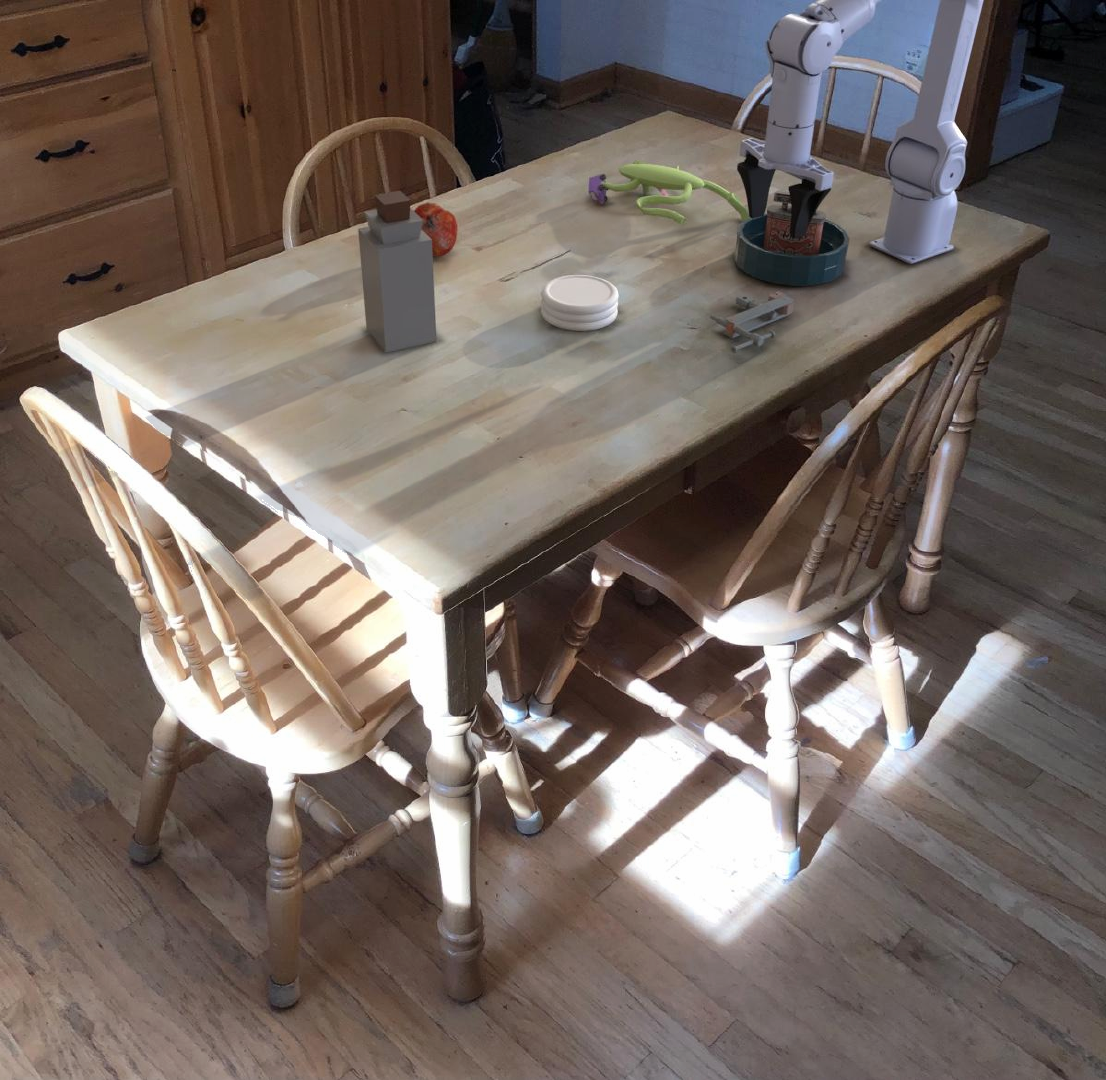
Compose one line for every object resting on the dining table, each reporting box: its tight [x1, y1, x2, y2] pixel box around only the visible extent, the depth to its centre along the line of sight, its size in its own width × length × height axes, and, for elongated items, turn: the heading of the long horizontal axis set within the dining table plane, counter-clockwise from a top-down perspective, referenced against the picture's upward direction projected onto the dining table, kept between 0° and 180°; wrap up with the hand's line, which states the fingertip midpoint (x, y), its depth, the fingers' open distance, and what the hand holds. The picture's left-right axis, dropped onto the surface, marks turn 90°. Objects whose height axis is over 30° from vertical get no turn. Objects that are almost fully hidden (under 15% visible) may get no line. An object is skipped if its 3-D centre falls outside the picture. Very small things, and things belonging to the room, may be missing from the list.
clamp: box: [709, 291, 795, 354], centre depth 156 cm, size 15×2×10 cm
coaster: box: [540, 274, 620, 332], centre depth 158 cm, size 10×10×4 cm
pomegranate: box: [413, 202, 459, 257], centre depth 172 cm, size 7×7×10 cm
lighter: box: [763, 190, 827, 255], centre depth 169 cm, size 8×3×10 cm, turn 71°
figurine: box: [587, 159, 750, 226], centre depth 186 cm, size 18×27×6 cm
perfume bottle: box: [357, 190, 438, 353], centre depth 148 cm, size 7×7×18 cm
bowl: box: [734, 213, 850, 287], centre depth 171 cm, size 15×15×4 cm
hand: (776, 226), depth 158 cm, fingers open, 7 cm apart
